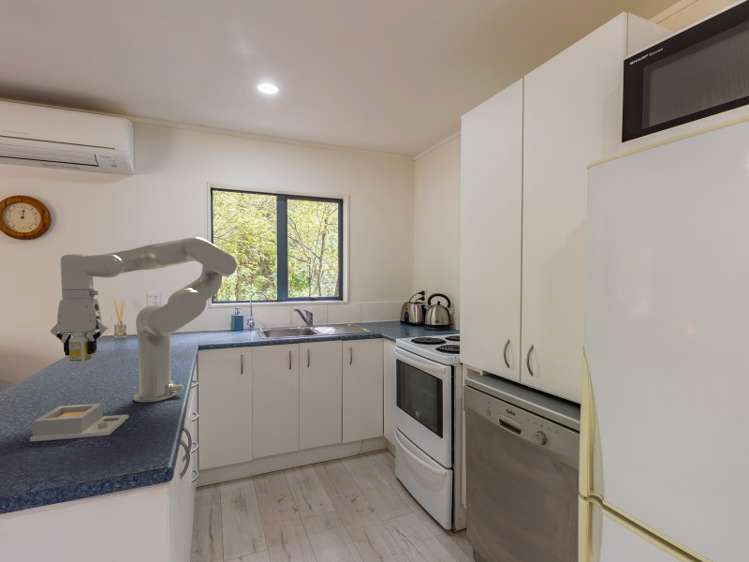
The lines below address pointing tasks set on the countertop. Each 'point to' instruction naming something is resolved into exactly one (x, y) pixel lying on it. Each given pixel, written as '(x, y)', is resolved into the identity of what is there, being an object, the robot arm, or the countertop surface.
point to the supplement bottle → (79, 348)
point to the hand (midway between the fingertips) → (80, 353)
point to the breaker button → (71, 414)
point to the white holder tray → (75, 423)
